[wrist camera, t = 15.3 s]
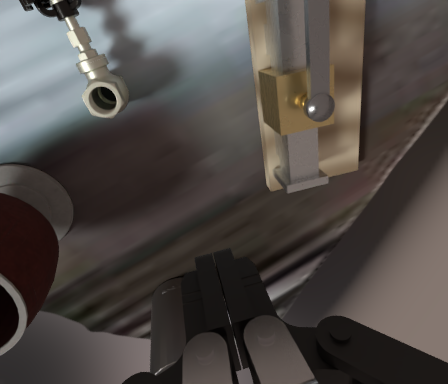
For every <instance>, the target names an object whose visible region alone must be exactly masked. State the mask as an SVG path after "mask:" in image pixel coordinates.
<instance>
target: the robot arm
mask: <svg viewBox="0 0 448 384" xmlns="http://www.w3.org/2000/svg"><path fill="white" fill-rule="evenodd" d="M213 254H214V258H215V262H216V266H217V271H218V275H219V279H220V282H219V279H218V275H217V271H216V267H215V263H214V260H213V256H212V253H210V254H206V255H203V256H199V257H195V263H196V268H197V270H196V271H193V272H189V273H185V275H184V277H181V278H174V279H171V280H168V281H166V282H164V283H163V284H161V285H160V286H159V287H158V288H157V289H156V290H155V292H154V294H153V297H152V318H151V350H150V372H140V373H137V374H134V375H133V376H131V377H129V378H128V379H127V380H125V381H124V382H123V383H122V384H239V382H238V378H237V374H236V371H239V370H241V366H240V362H239V358H238V353H237V349H236V345H235V341H234V337H233V332H234V336H235V340H236V344H237V347H238V351H239V355H240V359H241V362H242V366H243V369H245V368H248V367H249V369H250V372H251V375H252V379H253V383H254V384H448V363H447V362H444V361H442V360H440V359H438V358H435V357H433V356H431V355H429V354H427V353H425V352H422V351H420V350H418V349H416V348H413V347H411V346H409V345H407V344H405V343H402V342H400V341H398V340H395V339H393V338H391V337H389V336H387V335H385V334H382V333H380V332H378V331H376V330H373V329H371V328H369V327H367V326H364V325H362V324H360V323H358V322H356V321H353V320H351V319H349V318H346V317H343V316H330V317H327V318H325V319H323V320H321V321H320V323H319V324H318V326H317V327H316V328H315V327H312V328H311V327H296V326H292V325H289V324H287V323H285V322H284V321H283V320H282V319H280V318H279V316H278V315H277V313H276V311H275V309H274V307H273V305H272V302H271V300H270V298H269V296H268V293H267V291H266V289H265V287H264V284H263V283H262V280H261V278H260V275H259V273H258V271H257V269H256V266H255V264H254V263H253V262H252V261H250V260H249V259H248V258H247V257H244V258H240V259H236V260H234V257H233V254H232V251H231V249H230V248H229V249H225V250H221V251H217V252H214V253H213ZM220 283H221V286H220ZM221 287H222V290H221ZM222 291H223V294H222ZM223 295H224V298H223ZM224 299H225V301H224ZM225 302H226V305H225ZM226 306H227V309H226ZM227 310H228V313H227ZM228 314H229V317H230V320H229V317H228ZM230 321H231V324H230ZM231 325H232V328H231ZM232 329H233V332H232Z"/></svg>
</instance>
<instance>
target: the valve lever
mask: <svg viewBox="0 0 448 384" xmlns="http://www.w3.org/2000/svg"><path fill="white" fill-rule="evenodd" d="M304 20H305V45H306V71H307V96H308V97H307V98H306V99H305V101H304V104H303V111H304V114H305V115H306V116H307V117H308V118H310V119H312V120H313V121H316V122H323V121H325V120H327V119H328V118H329V117H330V116H331V115H332V114H333V112H334V108H335V102H334V99H333V98H332V96H330V39H329V0H304Z"/></svg>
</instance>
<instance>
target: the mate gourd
mask: <svg viewBox="0 0 448 384" xmlns="http://www.w3.org/2000/svg"><path fill="white" fill-rule="evenodd" d="M73 215H74V211H73V204H72V201H71V198H70V196H69V195H68V193H67V191H66V190H65V189H64V188H63V186H62V185H61V184H60V183H59V182H58V181H56V180H55V179H54V178H53V177H51V176H50V175H48V174H46V173H45V172H43V171H40V170H38V169H35V168H33V167H29V166H24V165H18V164H3V165H0V355H2V354H4V353H5V352H7V351H8V350H9V349H11V348H12V347H13V346H14V345H15V344H16V343H17V342H18V340H19V339H20V338H21V337H22V334H23V332H24V331H25V329H26V328H27V327H28V326H29V324H30V323H31V322H32V320H33V319H34V318H35V316H36V315H37V313H38V312H39V310H40V309H41V307H42V305H43V303H44V301H45V299H46V297H47V295H48V292H49V290H50V288H51V285H52V283H53V281H54V278H55V273H56V268H57V263H58V257H59V245H58V241H59V240H60V239H62V238H63V237H64V236H65V234H66V233H67V232H68V230H69V228H70V226H71V224H72V221H73Z"/></svg>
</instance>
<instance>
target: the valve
mask: <svg viewBox="0 0 448 384" xmlns="http://www.w3.org/2000/svg"><path fill="white" fill-rule="evenodd" d="M19 1H20V3H21V5H22V7H23V8H24V10H25V11H31V10H34V9H33V7H32V5H31V4H33V3H34V4H35V6H36V8H37V10H38V11H39V12H40V13H41V14H43V15H44V16H47V17H57V18H58V20H59V21H65V22H66V24H67V26H68V28H69V30H70V31H69V32H67V36H68V38H69V40H70V42H71V44H72V45H73V47H74V48H75V47H78V49H79V51H80V54H78V57H79V59H80V61H81V62H79V63H77V64H76V66H77V67H78V70H79V72H80V74H85V76H86V78H87V80H88V84H87V88H86V91H85V92H84V94H83V95H82V98H83V100H84V102H85V104H86V106H87V108H88V109H89V111H90V113H91V114H92V115H93V116H98V117H104V118H113V117H114V116H115V115H116V114H118V113H120V112H121V111H122V110H124V108H125V107H126V106H127V103H128V100H129V91H128V89H127V86H126V84H125V82H124V80H123V78H122V76H117V75H113V74H111V73H110V72H109V70H108V68H107V64H109V62H108V60H107V58H106V56H105V54H101V55H98V53H97V51H96V49H92V48H91V46H90V44H89V42H92V41H91V39H90V37H89V35H88V33H87V31H86V29H85V27H80V26H79V24H78V22H77V20H76V18H75V17H76V16H78V15H79V12H78V10H77V9H78V8H79V7H80V5H81V0H19ZM50 2H51V3H50ZM50 7H52V9H53V10H47V9H48V8H50ZM101 58H102V59H101ZM98 59H99V60H98ZM93 61H94V62H93ZM90 62H91V63H90ZM85 64H86V65H85ZM82 65H83V66H82ZM101 86H102V87H106V88H109V89H110V90H111V91H112V92H113V93H114V94H115V96H116V99H117V101H110V100H107V99H106V98H105V97H104V96H103V95H102V93H101V89H100V87H101Z"/></svg>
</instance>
